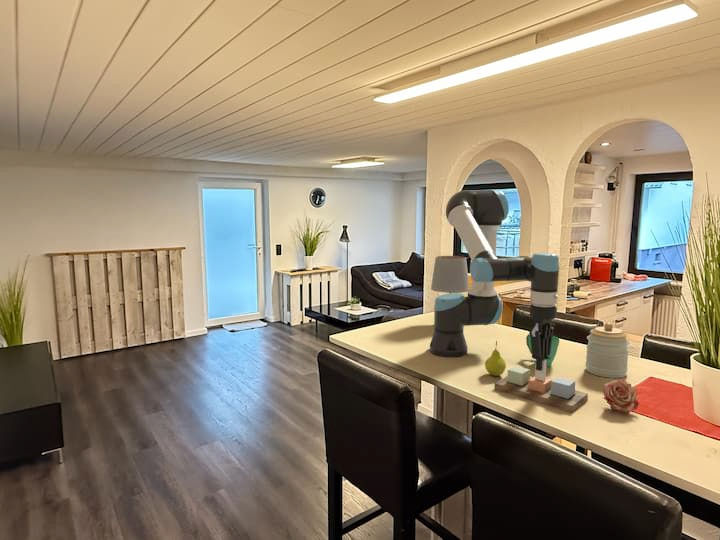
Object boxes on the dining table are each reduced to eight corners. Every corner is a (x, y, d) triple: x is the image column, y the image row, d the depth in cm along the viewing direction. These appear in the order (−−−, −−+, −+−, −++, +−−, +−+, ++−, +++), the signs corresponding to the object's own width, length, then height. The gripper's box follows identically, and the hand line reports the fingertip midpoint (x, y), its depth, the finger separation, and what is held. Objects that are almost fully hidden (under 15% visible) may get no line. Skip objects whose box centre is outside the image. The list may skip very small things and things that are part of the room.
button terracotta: (528, 392, 138) (528, 380, 137) (535, 387, 141) (535, 375, 141) (544, 397, 134) (544, 384, 134) (551, 392, 138) (551, 379, 137)
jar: (622, 367, 160) (625, 320, 158) (631, 380, 148) (635, 329, 146) (582, 364, 164) (585, 317, 162) (588, 376, 152) (590, 326, 150)
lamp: (430, 328, 217) (431, 259, 212) (430, 319, 235) (431, 255, 231) (470, 329, 214) (471, 259, 209) (467, 320, 232) (468, 255, 228)
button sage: (507, 381, 143) (507, 369, 142) (514, 377, 146) (515, 365, 146) (522, 385, 139) (522, 373, 139) (529, 381, 143) (529, 369, 142)
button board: (494, 389, 142) (494, 383, 142) (512, 379, 151) (512, 373, 150) (571, 412, 125) (572, 405, 125) (587, 399, 133) (587, 393, 133)
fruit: (502, 380, 150) (503, 345, 148) (482, 376, 153) (483, 342, 152) (507, 374, 155) (508, 340, 154) (487, 370, 159) (488, 338, 157)
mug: (564, 367, 162) (565, 340, 160) (541, 370, 159) (542, 342, 158) (537, 354, 176) (538, 330, 174) (516, 357, 173) (517, 332, 171)
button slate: (550, 394, 133) (551, 381, 132) (557, 389, 136) (558, 376, 136) (568, 398, 129) (568, 385, 129) (574, 393, 133) (575, 381, 132)
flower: (591, 395, 133) (598, 380, 127) (620, 388, 133) (628, 373, 128) (611, 424, 126) (618, 410, 120) (641, 417, 126) (650, 402, 121)
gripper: (546, 309, 127) (543, 388, 130) (564, 303, 136) (561, 377, 139) (521, 306, 132) (518, 381, 135) (540, 299, 141) (537, 371, 144)
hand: (540, 379), depth 137 cm, fingers closed
